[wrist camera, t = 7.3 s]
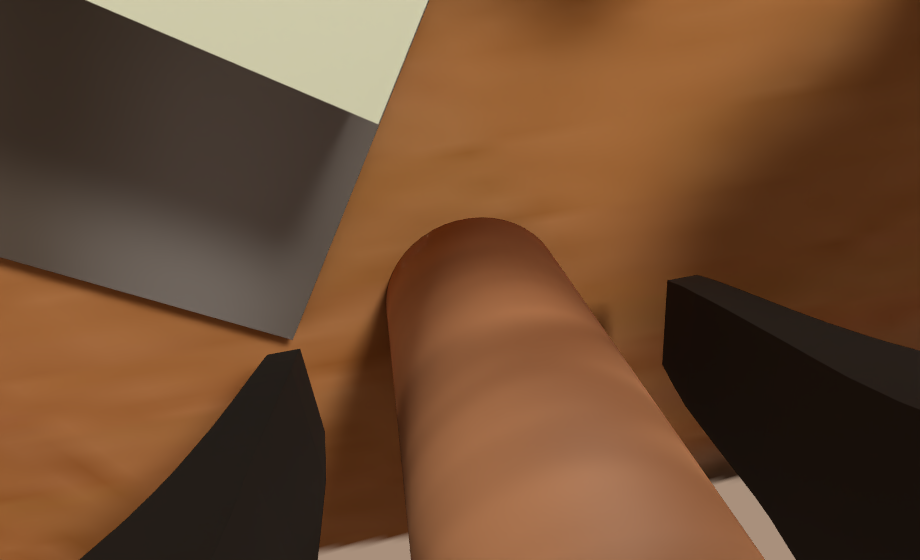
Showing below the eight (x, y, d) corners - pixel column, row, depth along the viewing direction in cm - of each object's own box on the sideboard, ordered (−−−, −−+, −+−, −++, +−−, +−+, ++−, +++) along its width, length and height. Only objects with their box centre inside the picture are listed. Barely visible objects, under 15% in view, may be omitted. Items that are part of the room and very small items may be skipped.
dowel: (591, 253, 13) (855, 568, 6) (511, 389, 15) (653, 768, 8) (430, 189, 12) (539, 498, 5) (359, 345, 13) (365, 753, 6)
